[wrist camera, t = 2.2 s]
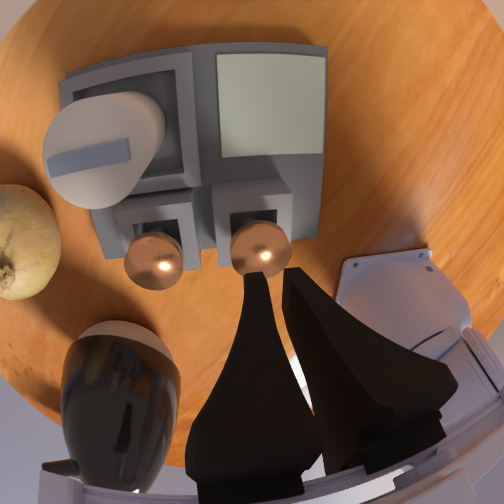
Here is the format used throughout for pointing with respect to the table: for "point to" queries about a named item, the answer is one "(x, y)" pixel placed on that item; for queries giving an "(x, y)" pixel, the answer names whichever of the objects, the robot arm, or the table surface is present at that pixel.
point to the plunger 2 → (259, 248)
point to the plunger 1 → (154, 259)
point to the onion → (26, 242)
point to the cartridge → (103, 147)
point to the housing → (219, 142)
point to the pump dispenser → (117, 407)
